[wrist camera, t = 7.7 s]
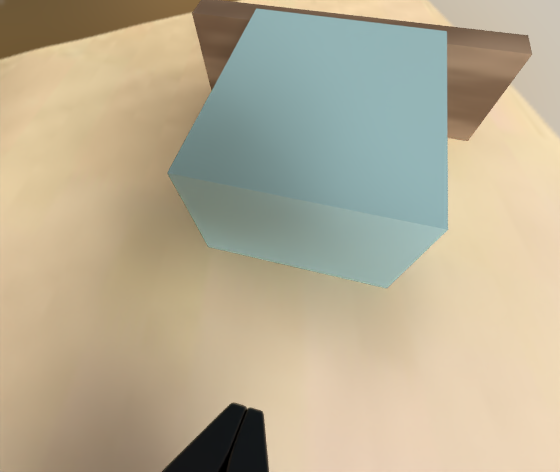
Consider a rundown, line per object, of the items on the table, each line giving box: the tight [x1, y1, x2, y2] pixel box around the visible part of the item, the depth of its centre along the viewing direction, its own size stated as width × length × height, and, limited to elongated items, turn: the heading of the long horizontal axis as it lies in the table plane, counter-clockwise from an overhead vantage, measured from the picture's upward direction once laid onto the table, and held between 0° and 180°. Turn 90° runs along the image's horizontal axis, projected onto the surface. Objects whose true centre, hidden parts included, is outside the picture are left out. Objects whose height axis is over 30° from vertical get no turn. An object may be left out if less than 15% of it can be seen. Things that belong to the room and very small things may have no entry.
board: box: [192, 0, 532, 141], centre depth 23 cm, size 2×22×7 cm, turn 76°
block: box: [168, 8, 448, 288], centre depth 19 cm, size 14×12×8 cm
